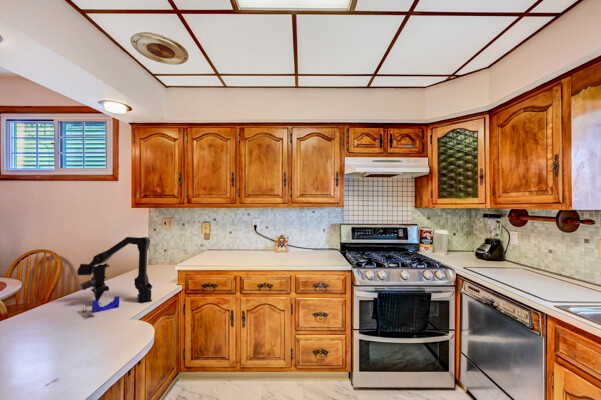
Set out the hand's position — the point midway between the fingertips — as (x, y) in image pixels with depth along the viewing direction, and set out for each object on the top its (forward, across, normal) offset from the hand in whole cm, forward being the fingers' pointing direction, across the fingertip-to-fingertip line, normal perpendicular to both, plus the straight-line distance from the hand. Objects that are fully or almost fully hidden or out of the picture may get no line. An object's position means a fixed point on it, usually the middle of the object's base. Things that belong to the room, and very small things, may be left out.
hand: (97, 301), depth 157 cm
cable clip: (+2, +16, 0) cm, 16 cm away
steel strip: (+1, +18, -9) cm, 20 cm away
